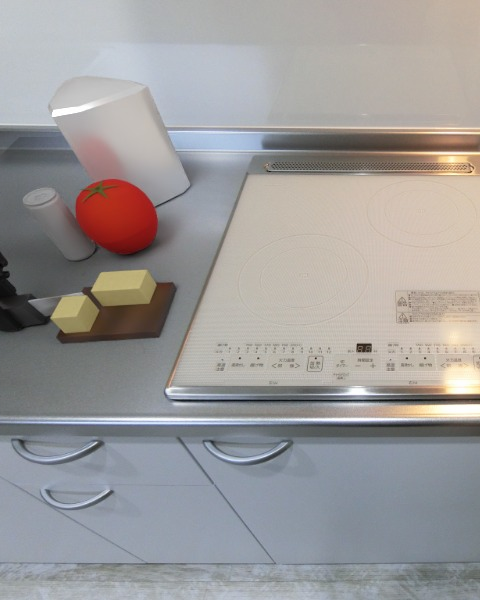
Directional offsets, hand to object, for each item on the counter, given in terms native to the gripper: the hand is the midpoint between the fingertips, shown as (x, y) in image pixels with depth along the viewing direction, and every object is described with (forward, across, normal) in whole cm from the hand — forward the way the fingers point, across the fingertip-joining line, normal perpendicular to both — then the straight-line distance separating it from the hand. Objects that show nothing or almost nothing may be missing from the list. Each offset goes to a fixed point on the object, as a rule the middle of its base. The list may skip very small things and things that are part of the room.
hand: (16, 320), depth 66 cm
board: (+1, 0, +15) cm, 15 cm away
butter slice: (-1, +2, +11) cm, 11 cm away
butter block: (-1, -3, +16) cm, 17 cm away
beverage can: (+1, -15, +3) cm, 16 cm away
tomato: (+1, -16, +12) cm, 20 cm away
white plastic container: (+1, -31, +9) cm, 32 cm away
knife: (0, 0, +4) cm, 5 cm away
